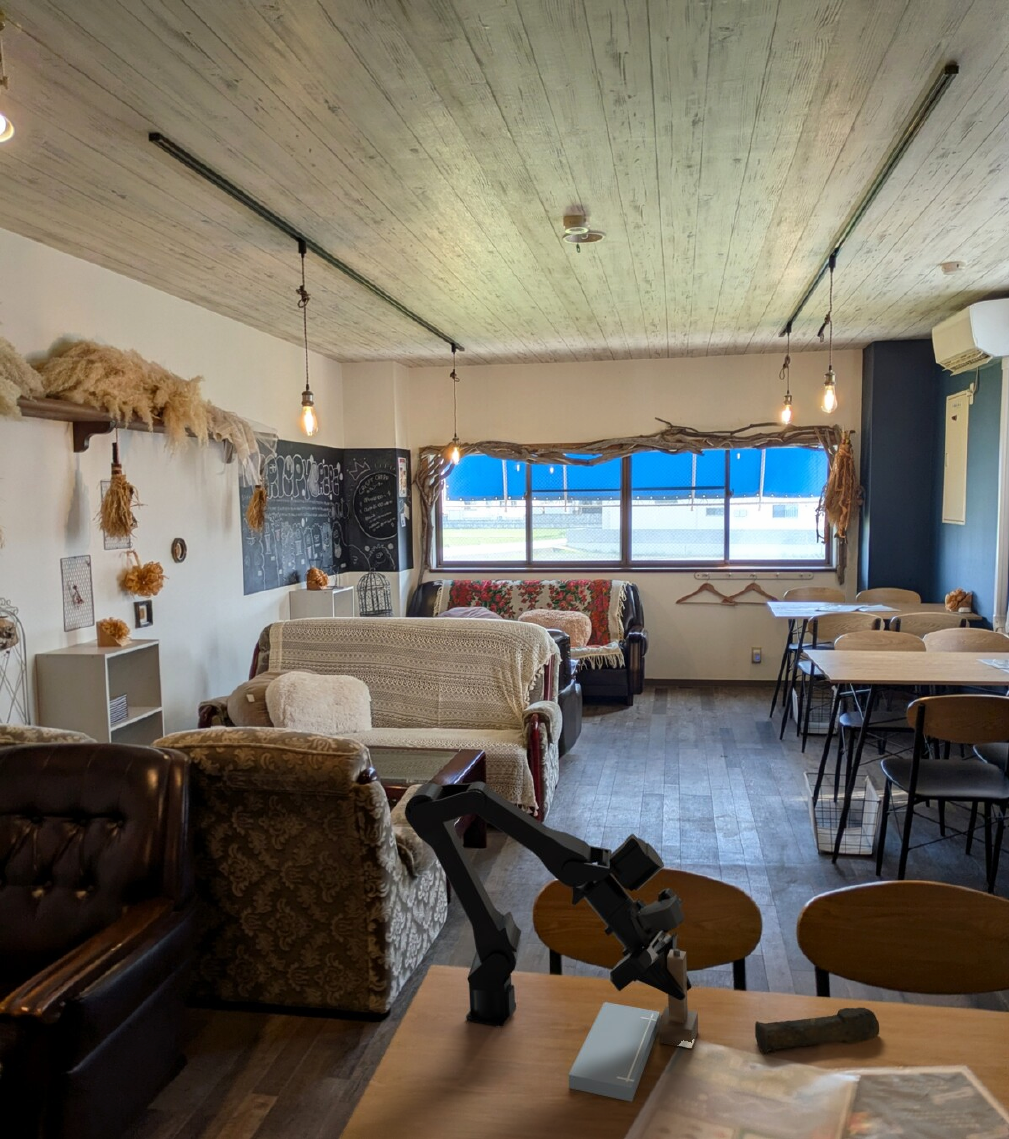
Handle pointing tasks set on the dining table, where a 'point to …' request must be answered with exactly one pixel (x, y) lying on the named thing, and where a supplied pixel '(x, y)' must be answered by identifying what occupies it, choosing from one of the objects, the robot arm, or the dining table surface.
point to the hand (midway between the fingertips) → (686, 993)
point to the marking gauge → (677, 1006)
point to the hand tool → (818, 1030)
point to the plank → (615, 1051)
